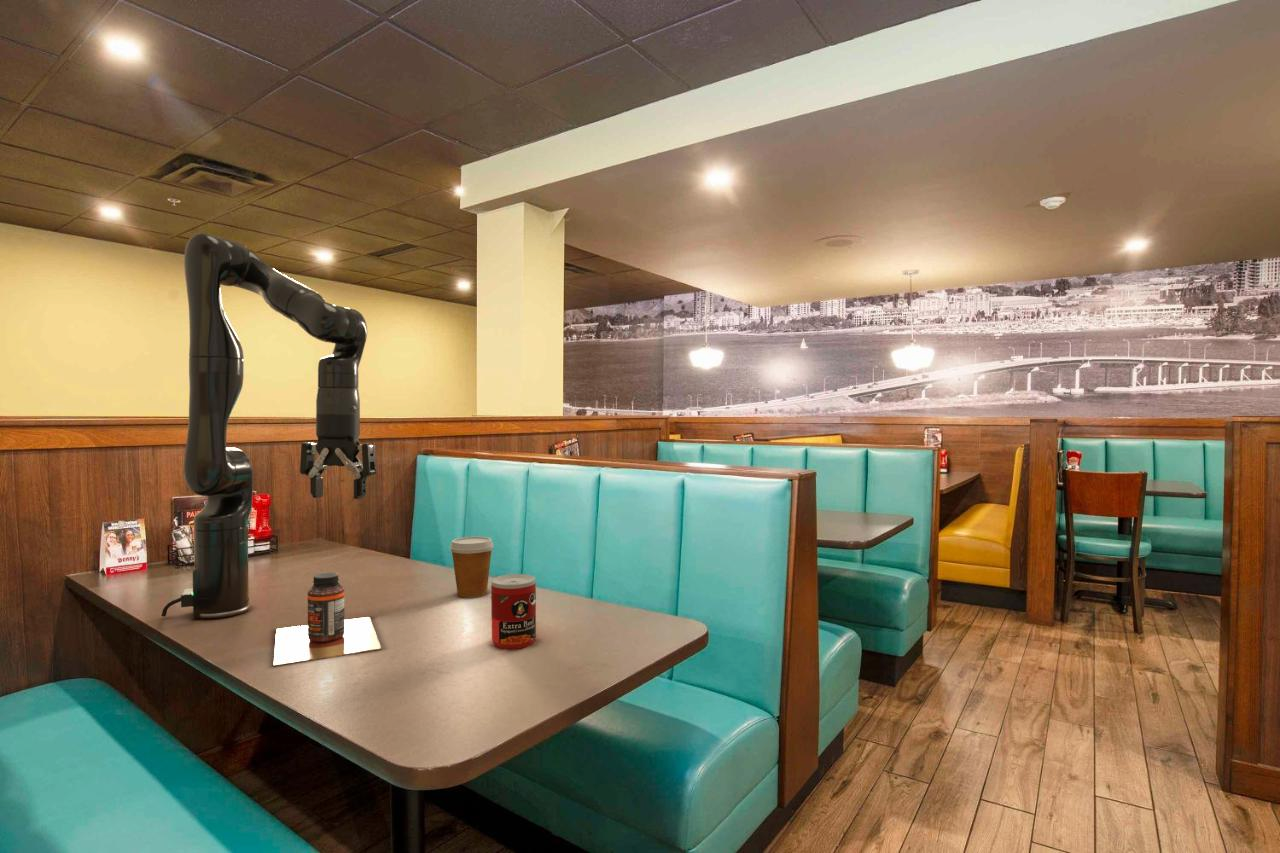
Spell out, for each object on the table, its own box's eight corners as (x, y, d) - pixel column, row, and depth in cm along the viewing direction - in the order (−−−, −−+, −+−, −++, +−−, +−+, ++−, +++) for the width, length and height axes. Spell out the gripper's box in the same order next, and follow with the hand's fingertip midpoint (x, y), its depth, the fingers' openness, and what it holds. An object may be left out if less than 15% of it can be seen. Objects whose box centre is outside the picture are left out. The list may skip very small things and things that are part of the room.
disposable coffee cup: (482, 600, 142) (482, 544, 142) (442, 598, 144) (441, 543, 144) (501, 589, 151) (500, 537, 151) (462, 587, 153) (461, 535, 153)
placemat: (273, 666, 105) (273, 664, 105) (276, 630, 123) (276, 629, 123) (381, 649, 112) (381, 648, 112) (369, 617, 130) (369, 616, 130)
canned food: (498, 652, 111) (498, 587, 110) (486, 638, 118) (485, 576, 118) (542, 645, 114) (542, 581, 114) (528, 631, 121) (527, 571, 121)
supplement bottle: (299, 641, 116) (298, 576, 116) (327, 631, 122) (326, 569, 121) (325, 645, 114) (324, 579, 114) (352, 634, 119) (351, 572, 119)
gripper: (383, 412, 128) (383, 496, 128) (317, 412, 130) (316, 494, 130) (361, 412, 120) (361, 501, 121) (290, 411, 123) (290, 499, 123)
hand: (338, 498), depth 125 cm, fingers open, 8 cm apart
